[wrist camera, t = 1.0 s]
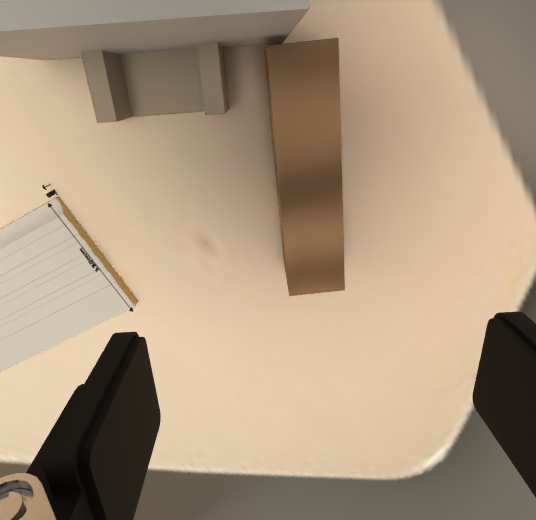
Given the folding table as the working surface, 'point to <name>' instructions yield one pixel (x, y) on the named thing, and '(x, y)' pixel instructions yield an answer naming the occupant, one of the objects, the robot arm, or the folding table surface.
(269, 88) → the rail
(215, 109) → the panel
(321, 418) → the folding table surface
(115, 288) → the grey flat board
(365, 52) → the folding table surface
